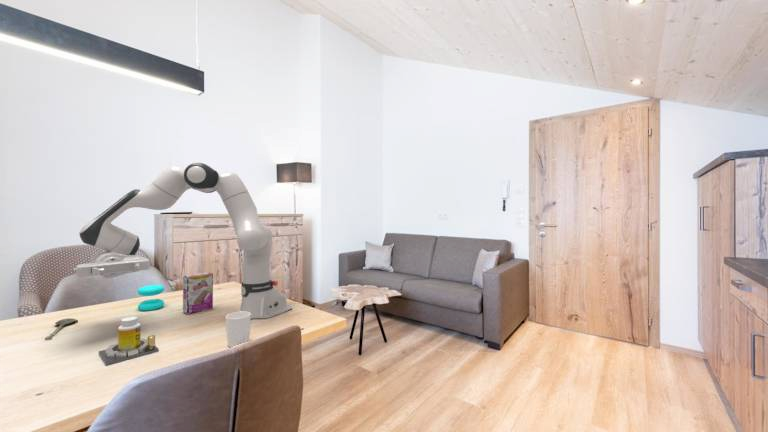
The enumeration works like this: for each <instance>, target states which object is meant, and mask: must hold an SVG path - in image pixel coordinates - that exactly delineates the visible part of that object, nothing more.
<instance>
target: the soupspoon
mask: <svg viewBox="0 0 768 432" xmlns="http://www.w3.org/2000/svg"><path fill="white" fill-rule="evenodd" d="M78 321H79V320H78V319H76V318H71V317H70V318H63V319H60V320H58V321H56V322H54V324H55V325H59V326H58V327H56V329H54V331H53V332H51V333H50V334H49V335H48V336H46V337H45V338H44V341H51V340H52V337H53V336H54V334H56V333H57V332H58V331H59V329H60V330H61V328H62V327H63V326H65V325H69V324H71V323H74V322H78Z"/></svg>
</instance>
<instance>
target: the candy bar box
mask: <svg viewBox="0 0 768 432" xmlns="http://www.w3.org/2000/svg"><path fill="white" fill-rule="evenodd" d="M213 299H214V273H212V272H201V273H195V274H193V273H192V274H186V275H183V276H182V313H184V314H186V315H191V314H194V313H199V312H202V311H207V310H211V309H212V310H213V307H214V306H213V305H214V301H213Z"/></svg>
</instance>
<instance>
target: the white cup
mask: <svg viewBox="0 0 768 432" xmlns="http://www.w3.org/2000/svg"><path fill="white" fill-rule="evenodd" d="M251 319H252V318H251V313H250V312H246V311H241V312H240V311H235V312H230V313H228V314H227V315H226V316H225V331H226V339H227V347H228V348H230V347H233V346H236V345H239V344H242V343H245V342H248V341H249V342H250V338H251V337H250V336H251V326H252V325H251V324H252V323H251V321H252V320H251Z"/></svg>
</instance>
